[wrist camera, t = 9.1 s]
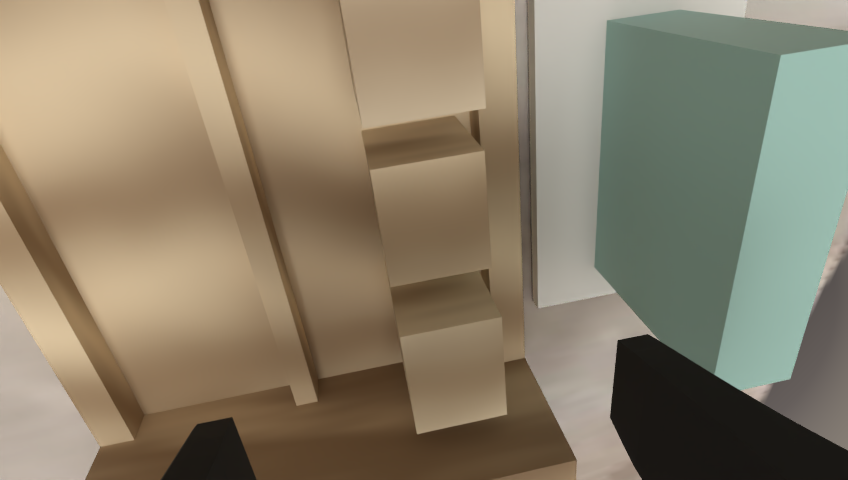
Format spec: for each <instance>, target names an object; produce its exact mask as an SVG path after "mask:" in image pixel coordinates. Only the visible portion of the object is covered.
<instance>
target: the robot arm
mask: <svg viewBox="0 0 848 480" xmlns="http://www.w3.org/2000/svg"><path fill="white" fill-rule="evenodd" d="M610 418H611V420H612V422H613V424H614V426H615V429H616V431H617V433H618V435H619V437H620V439H621V441H622V443H623V445H624V447H625V449H626V451H627V453H628V455H629V457H630V459H631V461H632V463H633V465H634V467H635V469H636V470H637V472H638V474H639V475H640V477H641V478H642V480H848V450H846V449H844V448H842V447H840V446H838V445H836V444H834V443H832V442H831V441H829V440H827V439H825V438H823V437H821V436H819V435H818V434H816V433H814V432H812V431H810V430H808V429H806V428H805V427H803V426H801V425H799V424H797V423H796V422H794V421H792V420H790V419H789V418H787V417H785V416H783V415H781V414H780V413H778V412H776V411H774V410H773V409H771V408H769V407H767V406H766V405H764V404H762V403H761V402H759V401H757V400H756V399H754V398H752V397H750V396H749V395H747V394H745V393H744V392H742V391H740V390H739V389H737V388H735V387H734V386H732V385H730V384H729V383H727V382H726V381H724V380H722V379H721V378H719V377H717V376H716V375H714V374H712V373H711V372H709V371H708V370H706V369H704V368H703V367H701V366H699V365H698V364H696V363H695V362H693V361H691V360H690V359H688V358H687V357H685V356H683V355H682V354H680V353H678V352H677V351H675V350H674V349H672V348H670V347H669V346H667V345H665V344H664V343H662V342H660V341H659V340H657V339H655V338H653V337H652V336H650V335H648V334H647V335H642V336H637V337H632V338H627V339H622V340H618V343H617V353H616V363H615V373H614V383H613V394H612V404H611V414H610ZM161 480H256V477H255V474H254V472H253V469H252V467H251V464H250V461H249V459H248V456H247V454H246V451H245V449H244V446H243V443H242V441H241V438H240V436H239V433H238V430H237V428H236V425H235V423H234V420H233V417H230V418H225V419H220V420H215V421H210V422H205V423H200V424H197V425H196V426H195V427H194V429H193V430H192V431H191V433H190V435H189V436H188V438H187V439H186V441H185V442H184V444H183V445H182V447H181V448H180V450H179V452H178V453H177V455H176V456H175V458H174V459H173V461H172V463H171V464H170V466H169V467H168V469H167V470H166V472H165V474H164V475H163V477H162V478H161Z"/></svg>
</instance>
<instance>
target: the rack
mask: <svg viewBox="0 0 848 480" xmlns="http://www.w3.org/2000/svg"><path fill="white" fill-rule="evenodd" d="M480 13H481V30H482V47H483V64H484V81H485V98H486V108H485V109H479V110H473V111H467V112H461V113H455V114H449V115H442V116H436V117H430V118H424V119H418V120H412V121H406V122H399V123H393V124H387V125H381V126H375V127H369V128H362V124H361V119H360V115H359V111H358V107H357V102H356V98H355V94H354V88H353V83H352V77H351V72H350V66H349V61H348V55H347V49H346V44H345V38H344V33H343V27H342V21H341V16H340V10H339V5H338V0H0V285H1V286H2V288H3V289H4V291H5V293H6V294H7V296H8V298H9V299H10V301H11V302H12V304H13V306H14V307H15V309H16V311H17V312H18V314H19V315H20V317H21V319H22V320H23V322H24V324H25V325H26V327H27V328H28V330H29V332H30V333H31V335H32V337H33V338H34V340H35V341H36V343H37V345H38V346H39V348H40V350H41V351H42V353H43V354H44V356H45V358H46V359H47V361H48V363H49V364H50V366H51V367H52V369H53V371H54V372H55V374H56V376H57V377H58V379H59V380H60V382H61V384H62V385H63V387H64V389H65V390H66V392H67V394H68V395H69V397H70V398H71V400H72V402H73V403H74V405H75V407H76V408H77V410H78V411H79V413H80V415H81V416H82V418H83V420H84V421H85V423H86V424H87V426H88V428H89V429H90V431H91V433H92V434H93V436H94V437H95V439H96V441H97V442H98V444H99V446H100V449H99V451H98V453H97V455H96V458H95V460H94V462H93V464H92V466H91V468H90V471H89V473H88V475H87V477H86V479H85V480H161V478H162V477H163V475H164V474H165V472H166V470H167V469H168V467H169V466H170V464H171V463H172V461H173V459H174V458H175V456H176V455H177V453H178V452H179V450H180V448H181V447H182V445H183V444H184V442H185V441H186V439H187V438H188V436H189V435H190V433H191V431H192V430H193V429H194V427H195V426H196V425H197V424H200V423H205V422H210V421H215V420H220V419H225V418H230V417H233V420H234V423H235V425H236V428H237V430H238V433H239V436H240V438H241V441H242V443H243V446H244V449H245V451H246V454H247V456H248V459H249V461H250V464H251V467H252V469H253V472H254V474H255V477H256V480H576V465H577V460H576V458H575V456H574V454H573V452H572V450H571V448H570V446H569V444H568V442H567V440H566V438H565V436H564V434H563V432H562V430H561V428H560V426H559V424H558V422H557V420H556V418H555V416H554V414H553V413H552V411H551V409H550V407H549V405H548V403H547V401H546V399H545V397H544V395H543V393H542V391H541V389H540V387H539V385H538V383H537V381H536V379H535V377H534V375H533V373H532V371H531V369H530V367H529V365H528V363H527V361H526V359H525V348H524V314H523V279H522V244H521V209H520V175H519V140H518V105H517V70H516V36H515V1H514V0H480ZM447 116H455V117H456V118H457V119H458V120H459V121H460V123H461V124H462V125H463V126H464V127H465V128H466V130H467V131H468V132H469V133H470V134H471V135H472V137H473V138H474V139H475V140H476V141H477V142H478V144H479V145H480V146H481V147H482V148H483V149H484V151H485V166H486V182H487V198H488V214H489V230H490V246H491V262H492V268H489V269H484V270H479V273H480V275H481V277H482V279H483V281H484V283H485V285H486V287H487V289H488V291H489V293H490V295H491V297H492V298H493V300H494V302H495V304H496V306H497V308H498V310H499V312H500V314H501V316H502V330H503V349H504V367H505V385H506V404H507V415H503V416H498V417H494V418H489V419H485V420H480V421H475V422H471V423H466V424H462V425H457V426H453V427H448V428H444V429H439V430H434V431H430V432H425V433H421V434H417V432H416V427H415V421H414V416H413V411H412V406H411V401H410V396H409V391H408V386H407V381H406V376H405V371H404V366H403V361H402V355H401V350H400V345H399V340H398V334H397V328H396V323H395V317H394V312H393V306H392V301H391V295H390V289H389V284H388V278H387V273H386V267H385V258H384V253H383V248H382V243H381V238H380V233H379V228H378V222H377V217H376V211H375V206H374V200H373V194H372V189H371V183H370V178H369V172H368V167H367V161H366V155H365V150H364V144H363V139H362V133H361V131H362V130H368V129H374V128H380V127H386V126H392V125H398V124H405V123H411V122H417V121H423V120H429V119H435V118H441V117H447Z"/></svg>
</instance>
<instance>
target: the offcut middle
mask: <svg viewBox="0 0 848 480" xmlns="http://www.w3.org/2000/svg"><path fill="white" fill-rule="evenodd" d="M361 133H362V139H363V144H364V150H365V155H366V161H367V167H368V172H369V178H370V183H371V189H372V194H373V200H374V206H375V211H376V217H377V222H378V228H379V233H380V238H381V243H382V248H383V253H384V258H385V263H386V267H387V272H388V277H389V282H390V287H396V286H401V285H406V284H411V283H416V282H422V281H427V280H432V279H437V278H442V277H448V276H453V275H458V274H463V273H468V272H474V271H479V270H484V269H489V268H492V262H491V246H490V230H489V214H488V198H487V182H486V166H485V151H484V149H483V148H482V147H481V146H480V145H479V144H478V142H477V141H476V140H475V139H474V138H473V137H472V135H471V134H470V133H469V132H468V131H467V130H466V128H465V127H464V126H463V125H462V124H461V123H460V121H459V120H458V119H457V118H456V117H455V116H447V117H441V118H435V119H429V120H423V121H417V122H411V123H405V124H398V125H392V126H386V127H380V128H374V129H368V130H362V131H361Z"/></svg>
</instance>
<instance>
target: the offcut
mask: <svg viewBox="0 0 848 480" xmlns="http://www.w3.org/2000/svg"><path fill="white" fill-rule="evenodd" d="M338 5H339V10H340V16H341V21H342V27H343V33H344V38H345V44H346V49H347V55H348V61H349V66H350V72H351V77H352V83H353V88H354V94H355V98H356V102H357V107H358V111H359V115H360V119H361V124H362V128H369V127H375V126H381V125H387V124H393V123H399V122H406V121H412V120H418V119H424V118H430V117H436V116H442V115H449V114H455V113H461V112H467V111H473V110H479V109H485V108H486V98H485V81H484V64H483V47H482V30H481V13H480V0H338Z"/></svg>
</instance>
